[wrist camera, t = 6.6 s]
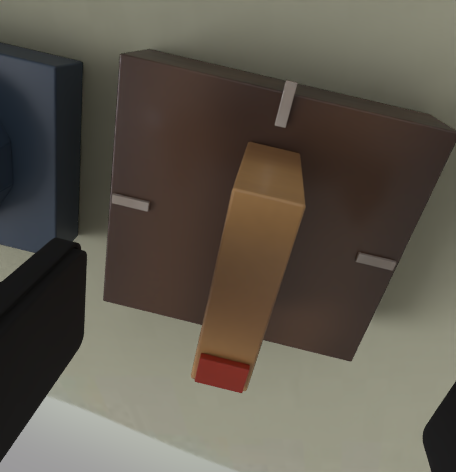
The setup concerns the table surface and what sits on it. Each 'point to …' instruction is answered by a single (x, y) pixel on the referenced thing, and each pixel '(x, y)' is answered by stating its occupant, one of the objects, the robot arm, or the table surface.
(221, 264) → the oak handle
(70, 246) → the robot arm
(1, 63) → the button box
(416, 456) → the table surface
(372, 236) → the handle panel
